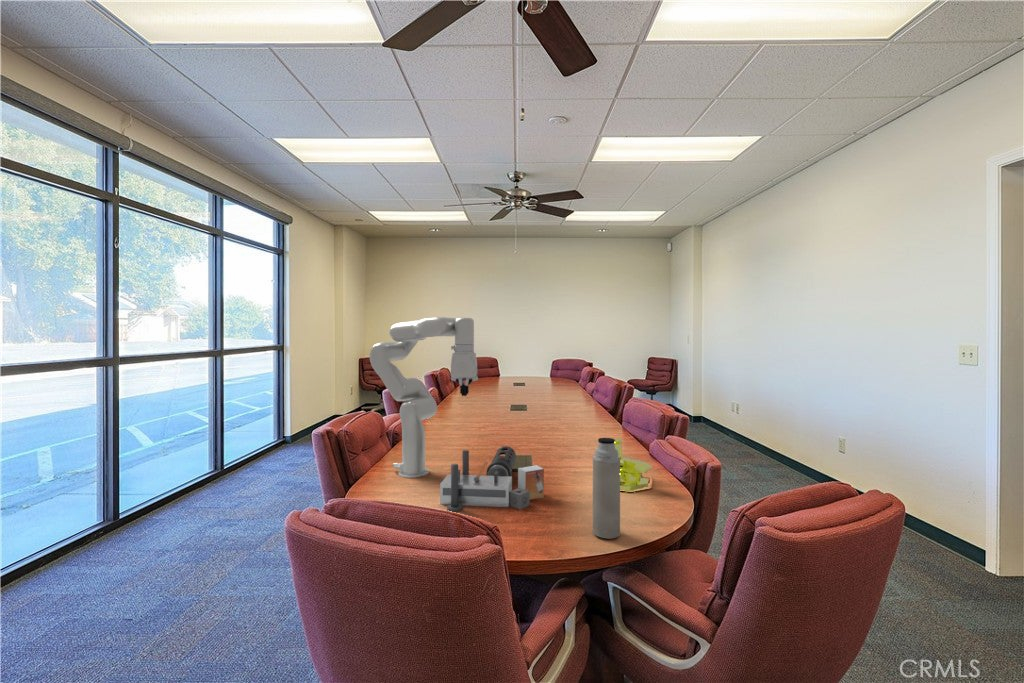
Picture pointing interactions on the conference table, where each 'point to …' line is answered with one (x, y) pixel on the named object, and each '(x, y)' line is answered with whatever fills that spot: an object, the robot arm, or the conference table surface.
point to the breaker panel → (478, 490)
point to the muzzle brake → (502, 462)
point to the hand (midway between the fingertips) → (464, 395)
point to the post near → (454, 490)
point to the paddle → (481, 470)
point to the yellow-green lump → (631, 471)
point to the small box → (532, 481)
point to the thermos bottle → (606, 490)
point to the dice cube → (519, 498)
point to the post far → (465, 462)
